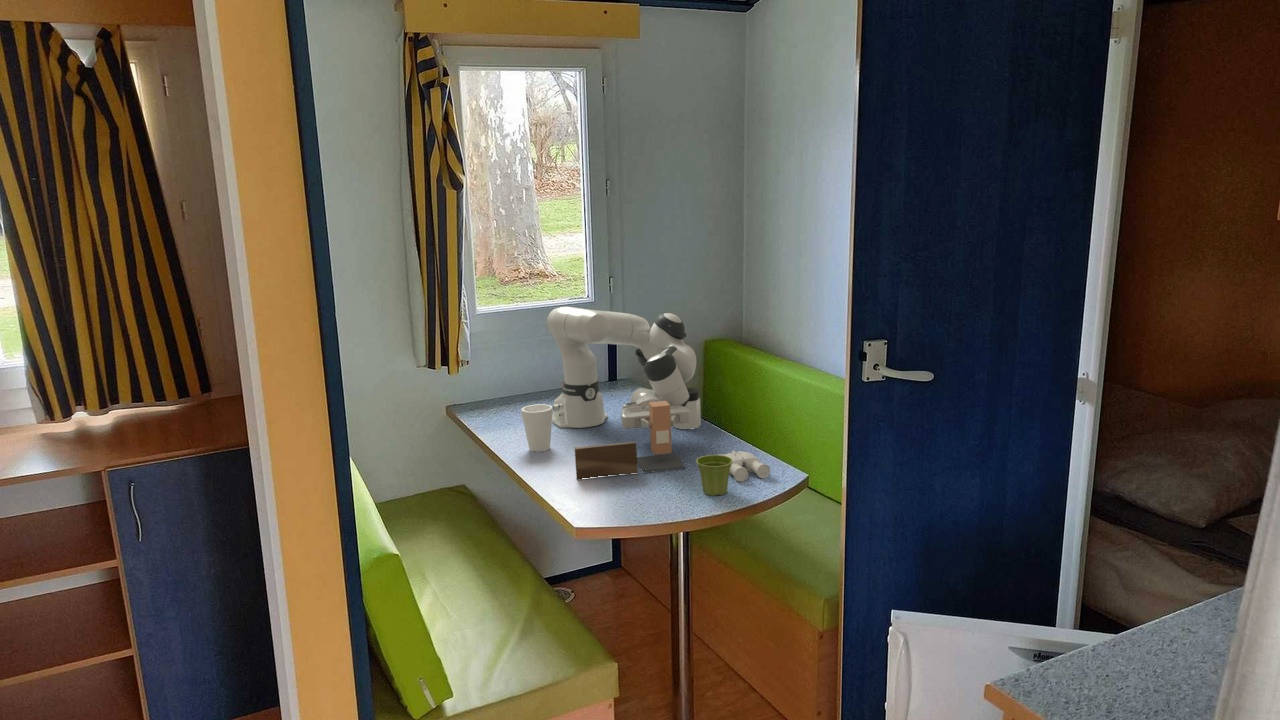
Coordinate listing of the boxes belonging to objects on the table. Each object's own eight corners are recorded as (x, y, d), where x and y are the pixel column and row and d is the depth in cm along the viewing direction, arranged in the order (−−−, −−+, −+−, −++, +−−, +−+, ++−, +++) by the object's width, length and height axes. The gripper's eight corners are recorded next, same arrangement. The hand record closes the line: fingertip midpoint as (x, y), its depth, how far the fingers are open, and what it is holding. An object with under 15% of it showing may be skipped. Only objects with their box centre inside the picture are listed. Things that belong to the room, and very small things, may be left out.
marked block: (650, 449, 258) (649, 402, 255) (667, 447, 259) (666, 400, 256) (654, 454, 253) (652, 407, 250) (671, 453, 254) (670, 405, 251)
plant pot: (708, 483, 240) (707, 452, 238) (739, 489, 234) (739, 457, 233) (690, 494, 232) (689, 462, 230) (722, 500, 227) (721, 468, 225)
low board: (576, 478, 248) (574, 447, 246) (636, 472, 251) (635, 441, 249) (577, 480, 247) (575, 449, 245) (637, 473, 249) (636, 443, 248)
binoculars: (734, 483, 239) (734, 467, 238) (713, 465, 254) (712, 450, 253) (770, 478, 242) (770, 462, 241) (747, 461, 257) (747, 445, 256)
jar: (706, 426, 292) (705, 390, 289) (688, 431, 286) (687, 395, 284) (686, 421, 298) (685, 386, 296) (669, 426, 293) (667, 391, 290)
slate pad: (635, 459, 262) (635, 457, 261) (675, 455, 264) (675, 453, 263) (643, 473, 250) (642, 470, 250) (684, 468, 252) (684, 466, 252)
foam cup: (521, 447, 278) (517, 406, 276) (549, 442, 282) (546, 402, 279) (529, 455, 270) (526, 414, 267) (558, 450, 273) (556, 409, 271)
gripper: (685, 418, 269) (696, 431, 256) (618, 425, 266) (626, 438, 252) (684, 398, 268) (695, 410, 255) (617, 405, 264) (625, 417, 251)
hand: (660, 424), depth 253 cm, fingers closed on marked block, 5 cm apart
